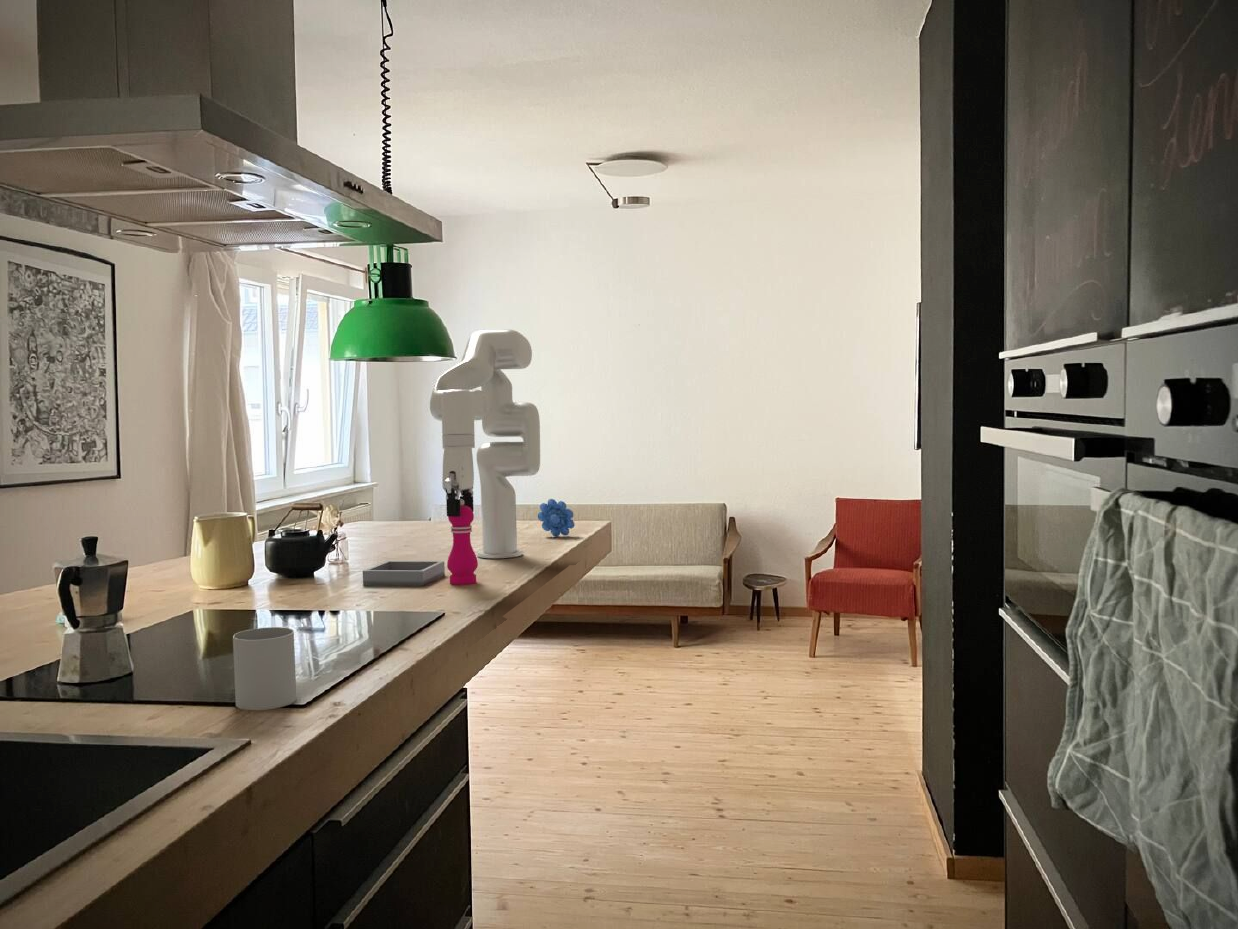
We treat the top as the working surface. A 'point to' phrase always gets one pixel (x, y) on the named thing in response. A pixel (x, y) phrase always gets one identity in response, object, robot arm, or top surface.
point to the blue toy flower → (556, 517)
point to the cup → (264, 668)
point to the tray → (403, 573)
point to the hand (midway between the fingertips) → (460, 514)
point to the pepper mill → (462, 549)
